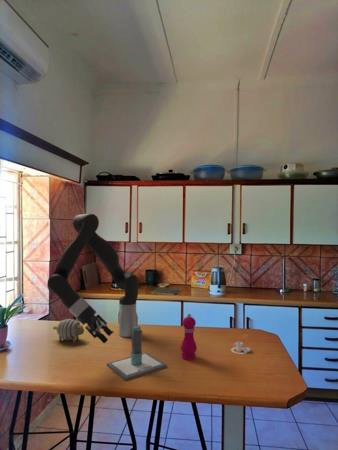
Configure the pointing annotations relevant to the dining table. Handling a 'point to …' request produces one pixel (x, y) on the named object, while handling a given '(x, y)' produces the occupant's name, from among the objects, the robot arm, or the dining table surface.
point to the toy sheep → (69, 330)
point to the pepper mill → (188, 339)
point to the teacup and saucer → (240, 348)
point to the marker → (136, 346)
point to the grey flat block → (130, 371)
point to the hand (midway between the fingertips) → (108, 337)
